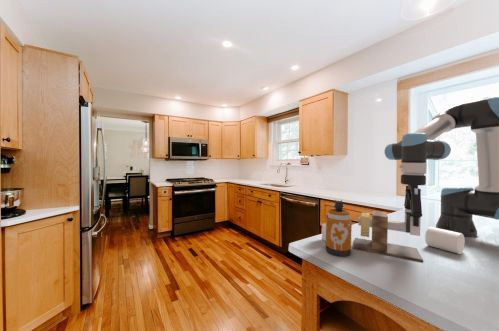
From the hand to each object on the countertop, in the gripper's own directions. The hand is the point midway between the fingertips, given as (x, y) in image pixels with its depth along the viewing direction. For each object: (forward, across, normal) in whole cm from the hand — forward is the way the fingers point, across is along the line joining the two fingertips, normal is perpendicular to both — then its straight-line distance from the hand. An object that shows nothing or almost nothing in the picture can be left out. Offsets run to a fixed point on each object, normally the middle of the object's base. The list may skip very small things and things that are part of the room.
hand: (411, 230), depth 80 cm
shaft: (+1, 0, -8) cm, 8 cm away
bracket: (+9, 0, -8) cm, 12 cm away
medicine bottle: (+10, +2, -27) cm, 29 cm away
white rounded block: (+9, -15, +14) cm, 22 cm away
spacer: (0, 0, -15) cm, 15 cm away
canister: (+10, +12, -24) cm, 29 cm away
